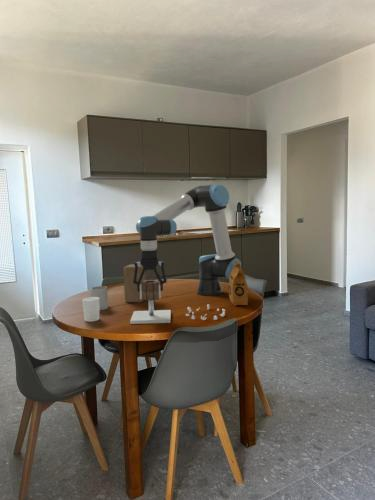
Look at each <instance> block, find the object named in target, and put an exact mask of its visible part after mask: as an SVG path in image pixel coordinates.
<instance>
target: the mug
mask: <svg viewBox="0 0 375 500" xmlns="http://www.w3.org/2000/svg"><path fill="white" fill-rule="evenodd" d="M90 297H98V298H100V311H104V310H107V309H109V299H108V287H107V286H101V285H100V286H99V285H98V286H93V287H91V288H90Z"/></svg>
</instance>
